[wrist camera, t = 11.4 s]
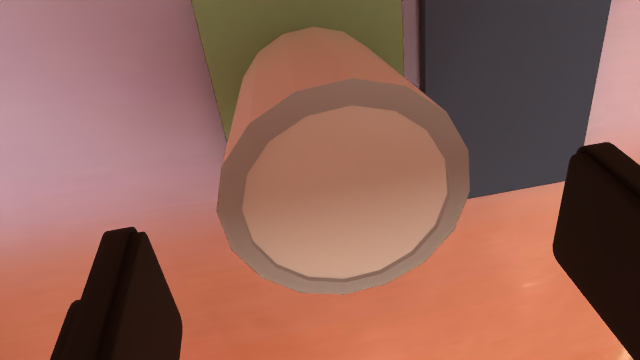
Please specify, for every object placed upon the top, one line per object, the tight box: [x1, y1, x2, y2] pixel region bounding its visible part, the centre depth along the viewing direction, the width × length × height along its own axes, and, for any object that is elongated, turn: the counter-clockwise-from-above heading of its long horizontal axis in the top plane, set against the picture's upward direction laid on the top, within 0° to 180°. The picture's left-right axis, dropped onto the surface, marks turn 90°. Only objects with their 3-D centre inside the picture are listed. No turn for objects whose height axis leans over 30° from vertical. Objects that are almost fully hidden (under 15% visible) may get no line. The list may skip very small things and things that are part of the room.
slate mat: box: [420, 0, 611, 199], centre depth 20 cm, size 12×7×1 cm, turn 7°
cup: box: [217, 26, 470, 295], centre depth 16 cm, size 7×7×7 cm
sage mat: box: [191, 0, 404, 142], centre depth 19 cm, size 12×7×1 cm, turn 7°
